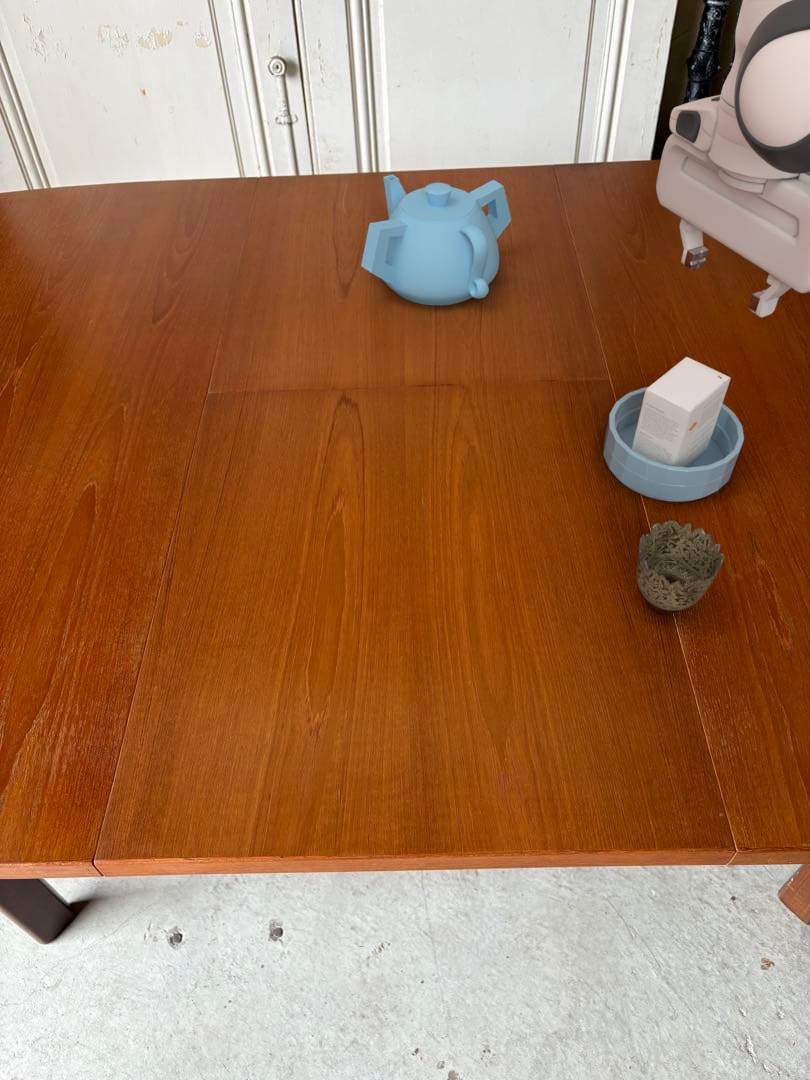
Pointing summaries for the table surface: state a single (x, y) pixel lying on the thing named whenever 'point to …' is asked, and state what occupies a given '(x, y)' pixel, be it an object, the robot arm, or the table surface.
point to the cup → (676, 566)
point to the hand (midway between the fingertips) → (724, 288)
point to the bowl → (660, 478)
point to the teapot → (438, 241)
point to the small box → (680, 414)
